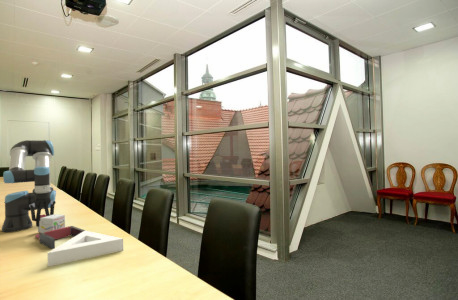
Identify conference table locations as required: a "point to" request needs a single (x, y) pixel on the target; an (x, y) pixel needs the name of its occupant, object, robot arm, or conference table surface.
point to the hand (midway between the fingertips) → (43, 230)
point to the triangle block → (84, 247)
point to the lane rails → (50, 240)
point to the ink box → (52, 222)
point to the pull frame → (56, 231)
